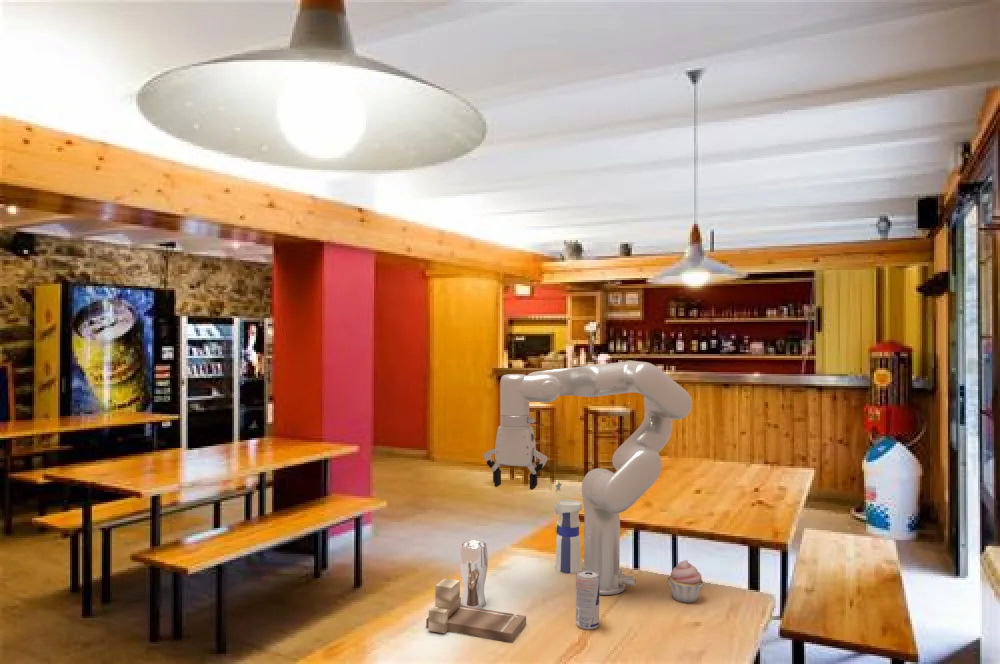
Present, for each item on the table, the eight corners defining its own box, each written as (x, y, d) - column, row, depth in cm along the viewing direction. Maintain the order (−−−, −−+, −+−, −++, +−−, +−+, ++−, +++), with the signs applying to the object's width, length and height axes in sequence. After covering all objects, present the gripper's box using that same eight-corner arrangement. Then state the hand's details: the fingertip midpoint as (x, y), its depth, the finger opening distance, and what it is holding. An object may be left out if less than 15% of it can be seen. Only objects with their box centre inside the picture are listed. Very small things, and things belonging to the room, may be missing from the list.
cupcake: (704, 608, 168) (704, 568, 168) (665, 603, 171) (665, 563, 171) (704, 594, 177) (705, 556, 177) (668, 589, 180) (668, 552, 180)
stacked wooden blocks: (463, 614, 162) (464, 577, 162) (444, 633, 152) (444, 593, 152) (448, 612, 164) (448, 574, 164) (428, 630, 153) (428, 590, 153)
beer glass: (488, 599, 173) (489, 540, 173) (485, 610, 166) (486, 549, 166) (462, 597, 174) (462, 539, 174) (457, 608, 167) (458, 548, 167)
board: (526, 624, 158) (526, 615, 158) (511, 642, 148) (511, 633, 148) (444, 611, 165) (444, 602, 165) (426, 627, 156) (426, 618, 156)
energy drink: (601, 622, 159) (601, 571, 159) (596, 631, 154) (597, 579, 154) (578, 619, 161) (579, 568, 161) (573, 628, 156) (574, 576, 156)
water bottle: (550, 572, 193) (550, 484, 193) (557, 562, 201) (558, 478, 201) (578, 575, 190) (578, 487, 190) (585, 566, 198) (585, 481, 198)
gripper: (550, 421, 176) (551, 486, 176) (489, 418, 182) (489, 481, 182) (542, 425, 169) (542, 493, 169) (478, 422, 175) (478, 487, 175)
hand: (515, 487), depth 176 cm, fingers open, 9 cm apart
